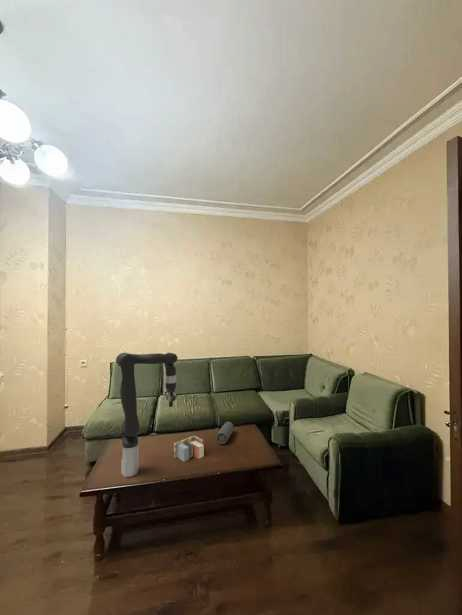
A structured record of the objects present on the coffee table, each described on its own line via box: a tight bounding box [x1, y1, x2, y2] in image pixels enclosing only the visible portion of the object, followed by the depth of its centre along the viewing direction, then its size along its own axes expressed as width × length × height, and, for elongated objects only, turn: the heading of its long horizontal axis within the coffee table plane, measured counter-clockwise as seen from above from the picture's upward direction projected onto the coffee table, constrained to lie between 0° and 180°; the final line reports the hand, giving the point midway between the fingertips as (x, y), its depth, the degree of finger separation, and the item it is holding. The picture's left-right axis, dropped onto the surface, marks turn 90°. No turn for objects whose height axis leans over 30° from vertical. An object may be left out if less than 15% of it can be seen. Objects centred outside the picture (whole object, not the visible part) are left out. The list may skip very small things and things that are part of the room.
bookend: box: [186, 441, 194, 459], centre depth 190 cm, size 4×7×9 cm, turn 44°
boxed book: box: [191, 441, 205, 460], centre depth 191 cm, size 10×4×8 cm, turn 44°
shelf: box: [173, 435, 204, 459], centre depth 190 cm, size 18×10×10 cm, turn 134°
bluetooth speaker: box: [216, 421, 235, 445], centre depth 216 cm, size 23×9×10 cm, turn 167°
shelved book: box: [176, 443, 190, 463], centre depth 186 cm, size 4×8×8 cm, turn 44°
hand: (170, 406), depth 189 cm, fingers closed
